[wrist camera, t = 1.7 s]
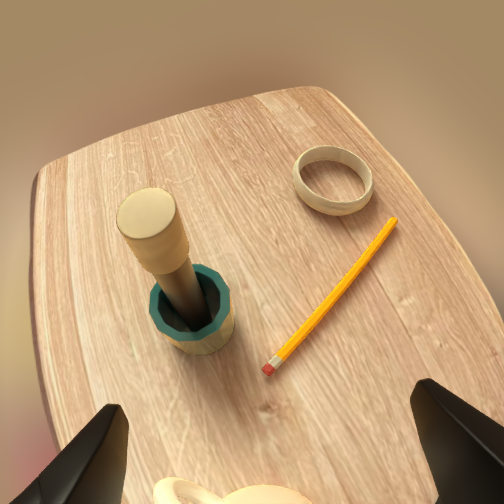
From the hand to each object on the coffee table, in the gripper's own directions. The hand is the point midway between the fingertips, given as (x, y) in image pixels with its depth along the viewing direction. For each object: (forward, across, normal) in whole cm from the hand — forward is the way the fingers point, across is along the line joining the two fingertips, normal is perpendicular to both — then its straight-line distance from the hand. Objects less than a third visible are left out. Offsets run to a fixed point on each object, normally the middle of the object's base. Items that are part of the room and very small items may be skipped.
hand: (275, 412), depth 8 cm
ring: (+25, -9, -1) cm, 26 cm away
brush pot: (+14, +4, +7) cm, 17 cm away
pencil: (+16, -8, +6) cm, 19 cm away
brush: (+14, +4, +7) cm, 16 cm away
